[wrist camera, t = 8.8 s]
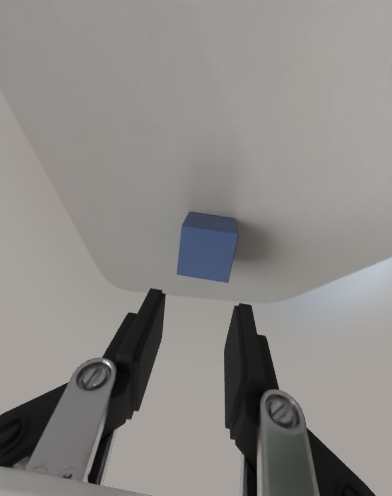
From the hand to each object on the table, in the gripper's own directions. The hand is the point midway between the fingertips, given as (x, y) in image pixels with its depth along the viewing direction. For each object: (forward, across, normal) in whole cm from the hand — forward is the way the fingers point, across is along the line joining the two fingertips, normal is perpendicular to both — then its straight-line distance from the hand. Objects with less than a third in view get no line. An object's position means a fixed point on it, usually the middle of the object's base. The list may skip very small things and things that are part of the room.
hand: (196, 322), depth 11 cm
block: (+12, 0, 0) cm, 12 cm away
